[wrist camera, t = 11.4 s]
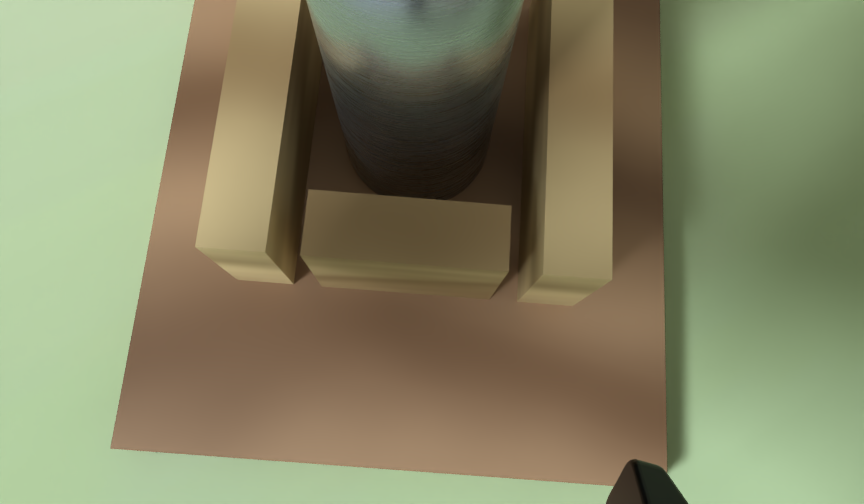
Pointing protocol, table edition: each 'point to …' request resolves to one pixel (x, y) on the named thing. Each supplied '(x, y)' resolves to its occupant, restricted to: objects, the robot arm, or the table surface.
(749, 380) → the table surface
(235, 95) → the socket board
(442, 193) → the metal pin
